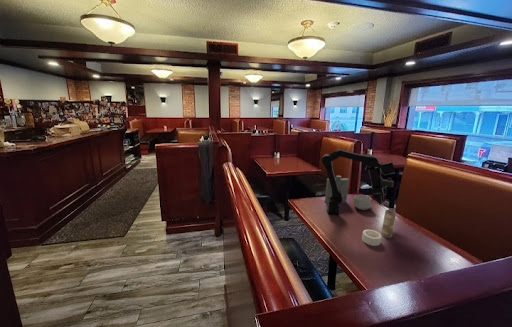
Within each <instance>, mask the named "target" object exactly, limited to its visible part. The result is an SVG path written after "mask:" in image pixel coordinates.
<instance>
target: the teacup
mask: <svg viewBox="0 0 512 327" xmlns="http://www.w3.org/2000/svg"><path fill="white" fill-rule="evenodd" d="M371 204H372V198H371V196H370V195H368V194H367V195H365V194H356V195H354V196H353V205H354V207H355V208H356V209H358V210H361V211H367V210H368V209H370V208H371Z"/></svg>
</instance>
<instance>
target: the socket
mask: <svg viewBox="0 0 512 327" xmlns="http://www.w3.org/2000/svg"><path fill="white" fill-rule="evenodd" d="M382 237H383V236H382V235H381V233H380V232H379V231H376V230H373V229H364V230H363V231H362V235H361V241H362V242H363V243H365V244H366V245H369V246H374V247H377V246H378V247H379V246H380V245H381V242H382Z"/></svg>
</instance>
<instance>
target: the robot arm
mask: <svg viewBox="0 0 512 327" xmlns="http://www.w3.org/2000/svg"><path fill="white" fill-rule="evenodd" d="M341 157H342V158H344V159H349V160H353V161H356V162H360V163H362V164H364V165H366V167H365V169H364V171H366V172H367V171H368V174H369V178H370V179H369V181H370V184H371V189H370V190H369V192H370V194H371V196H372V197H373V198H374V199H375V200H376V202H377V203H378V204H379V205H383V204H382V202H384V192H385V190H386V188H394V184H395V183H394V182H395V181H394V180H392V177H388V178H387V179H383V176H381V174H382V175H384V176H387V175H394V174H396V169H395V165H394V163H393V162H392V161H388V162H386V163H385V162H384V163H382V162H380V161H378V158H377V157H376V156H375V155H373V154H361V153H360V154H359V153H356V152H351V151H347V150H344V149H341V148H338V149H336V150H334V151H331V152H330V153H325V154H324V155H323V156H322V159H321V163H322V165H323V167H324V169H325V170H326V173H327V177H328V178H327V179H329V181H330V185H331V189H332V197H330V198H329V203H327V209H326V212H327V214H328V215H331V216H332V215H333V216H339V213H340V205H341V204H342V203H341V202H342V199H343V194H342V190H339V189H338V187H337V183H336V179H335V178H336V176H335V173H334V169H333V161H335V160H337V159H339V158H341Z"/></svg>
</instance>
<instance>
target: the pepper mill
mask: <svg viewBox="0 0 512 327" xmlns="http://www.w3.org/2000/svg"><path fill="white" fill-rule="evenodd" d="M396 216H397V212H396V211H395V209H393V208H390V207H389V208H388V209H386V210H385V211H384V215H383V222H382V226H381V231H380V232H381V233H380V234H381V236H382V237H384V238H387V239H392V238H393V232H394V228H395V227H394V226H395V221H396Z"/></svg>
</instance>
